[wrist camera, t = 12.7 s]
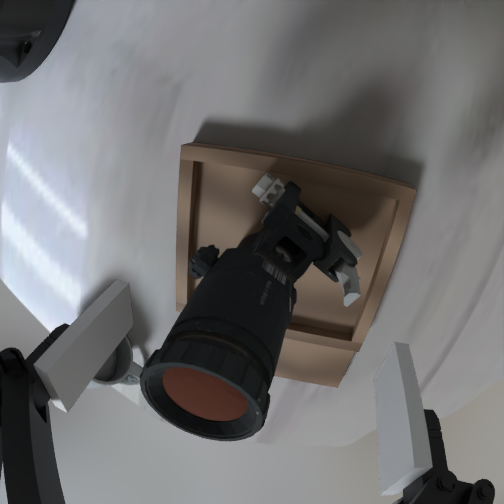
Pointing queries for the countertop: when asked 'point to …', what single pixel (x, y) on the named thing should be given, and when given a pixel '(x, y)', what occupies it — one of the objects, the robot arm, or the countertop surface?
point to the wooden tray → (313, 281)
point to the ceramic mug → (118, 368)
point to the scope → (244, 318)
